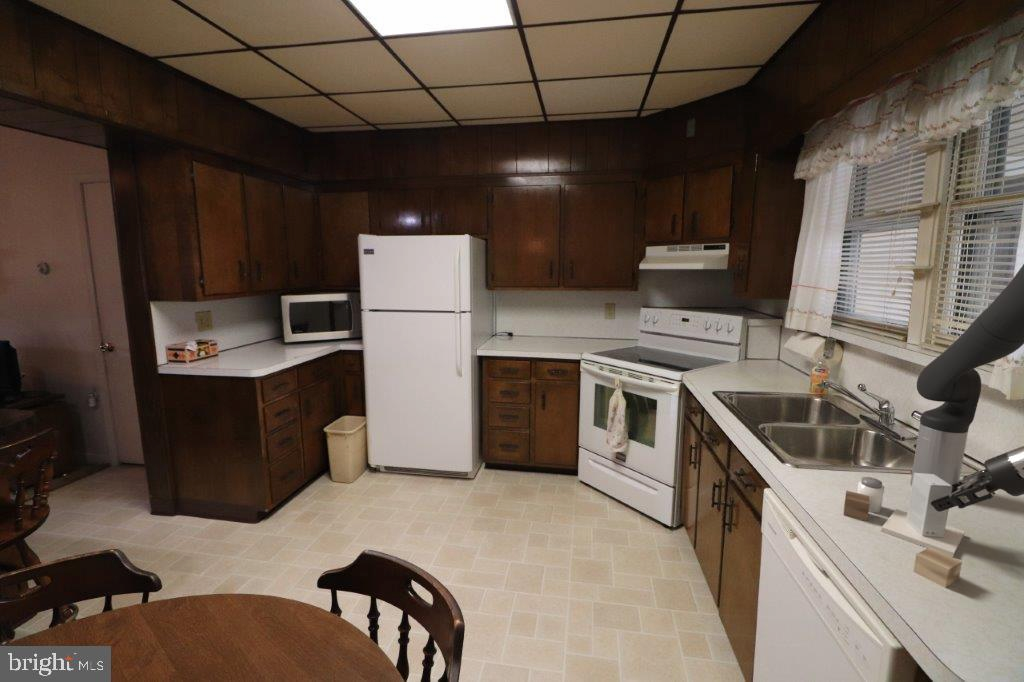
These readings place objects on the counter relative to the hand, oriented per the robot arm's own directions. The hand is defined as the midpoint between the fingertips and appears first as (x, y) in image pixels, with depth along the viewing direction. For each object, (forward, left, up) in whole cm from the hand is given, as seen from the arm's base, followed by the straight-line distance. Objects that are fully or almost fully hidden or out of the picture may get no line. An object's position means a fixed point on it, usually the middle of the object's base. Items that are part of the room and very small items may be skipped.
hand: (938, 500), depth 102 cm
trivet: (0, -2, -9) cm, 9 cm away
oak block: (+16, +3, -9) cm, 18 cm away
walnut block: (+2, -14, -9) cm, 16 cm away
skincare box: (0, -2, -8) cm, 8 cm away
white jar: (-4, -13, -9) cm, 16 cm away
